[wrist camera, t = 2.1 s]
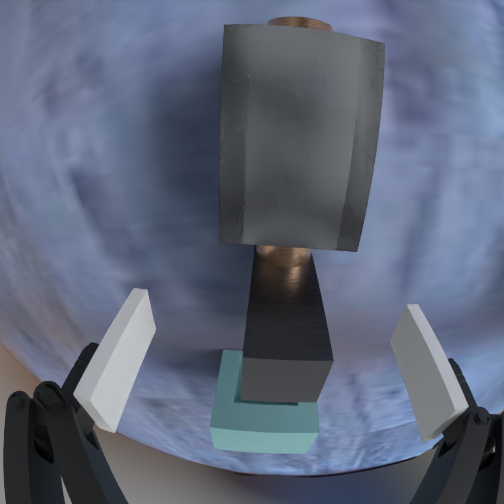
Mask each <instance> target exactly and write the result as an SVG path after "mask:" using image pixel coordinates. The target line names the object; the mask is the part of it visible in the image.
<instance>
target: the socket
mask: <svg viewBox="0 0 504 504" xmlns="http://www.w3.org/2000/svg"><path fill="white" fill-rule="evenodd" d="M242 355H243V351H238V350H227V349H223V354H222V360H221V365H220V371H219V377H218V382H217V388H216V394H215V399H214V405H213V411H212V416H211V422H210V432H211V436H212V441H213V445H214V449H222V450H231V451H242V452H257V453H307V451H308V450H309V448H310V447H311V445H312V444H313V442H314V440H315V439H316V437H317V436H318V434H319V421H318V409H317V402H267V401H251V400H241V387H242Z"/></svg>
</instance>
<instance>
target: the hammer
mask: <svg viewBox="0 0 504 504" xmlns="http://www.w3.org/2000/svg"><path fill="white" fill-rule="evenodd" d="M268 25H277V26H290V27H300V28H309V29H316V30H323V31H330V32H333V28H332V27H331V26H330V25H329V24H327V23H325V22H322V21H319V20H316V19H311V18H304V17H281V18H275V19H272V20H270V21H269V22H268ZM311 250H312V249H309V248H294V247H280V246H265V245H255V251H254V259H253V268H252V277H251V286H250V295H249V303H248V312H247V321H246V329H245V338H244V347H243V355H242V387H241V400H251V401H267V402H317V399H318V397H319V395H320V393H321V390H322V388H323V386H324V383H325V381H326V378H327V376H328V374H329V371H330V369H331V366H332V364H333V361H334V360H333V355H332V349H331V343H330V338H329V333H328V327H327V322H326V317H325V312H324V307H323V302H322V297H321V293H320V288H319V283H318V279H317V274H316V270H315V265H314V261H313V257H312V252H311Z"/></svg>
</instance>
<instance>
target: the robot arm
mask: <svg viewBox="0 0 504 504" xmlns="http://www.w3.org/2000/svg"><path fill="white" fill-rule="evenodd" d="M155 331H156V327H155V323H154V319H153V315H152V310H151V306H150V301H149V296H148V291H147V290H145V289H137V288H133V290H132V291H131V293H130V295H129V296H128V298H127V299H126V301H125V303H124V304H123V306H122V307H121V309H120V311H119V312H118V314H117V316H116V317H115V319H114V321H113V322H112V324H111V326H110V327H109V329H108V331H107V332H106V334H105V336H104V338H103V339H102V341H101V343H100V344H97V343H93V342H91V343H90V344H89V345H88V346H86V347H85V348H84V349H83V351H82V352H81V354H80V356H79V357H78V360H77V361H76V363H75V364H74V367H73V368H72V370H71V371H70V373H69V375H68V377H67V379H66V380H65V382H64V384H63V386H62V388H60V387H59V385H58V384H56V383H55V382H53V381H44V382H42V383H40V384H39V385H38V386H37V387H36V389H35V391H34V394H33V399H32V398H30V397H29V396H28V395H27V394H26V393H25V392H23V391H16V392H14V393H13V394H11V395H10V397H9V398H8V402H7V407H6V416H5V429H4V449H3V458H4V459H3V467H4V488H5V498H6V504H65V501H64V495H63V489H62V481H61V476H62V479H63V482H64V484H65V487H66V490H67V492H68V495H69V497H70V499H71V502H72V504H128V502H127V500H126V499H125V497H124V495H123V493H122V491H121V489H120V487H119V486H118V484H117V482H116V480H115V478H114V476H113V474H112V472H111V469H110V467H109V465H108V463H107V461H106V458H105V456H104V454H103V452H102V449H101V447H100V444H99V442H98V440H97V437H96V435H95V432H94V430H93V425H94V423H96V424H97V426H98V427H99V428H101V429H104V430H107V431H110V432H113V433H115V431H116V429H117V426H118V423H119V420H120V418H121V415H122V412H123V410H124V407H125V404H126V402H127V399H128V397H129V394H130V391H131V389H132V386H133V384H134V381H135V379H136V376H137V374H138V371H139V369H140V366H141V364H142V362H143V359H144V357H145V354H146V352H147V350H148V347H149V345H150V343H151V340H152V338H153V336H154V333H155ZM389 342H390V344H391V347H392V350H393V352H394V355H395V358H396V360H397V363H398V366H399V369H400V371H401V374H402V377H403V380H404V383H405V386H406V389H407V392H408V395H409V398H410V401H411V404H412V407H413V411H414V414H415V417H416V421H417V424H418V428H419V431H420V435H421V438H422V442H425V441H428V440H432V439H435V438H437V437H438V436H439V435H440V434H441V433H443V436H444V437H443V438H442V439H441V440H440V441H438V442H437V443H436V444H435V445H434V446H433V448H432V449H434V448H436V447H437V446H438V445H439V446H438V448H437V450H436V453H435V455H434V457H433V460H432V462H431V464H430V466H429V468H428V470H427V472H426V475H425V476H424V479H423V480H422V482H421V484H420V486H419V488H418V490H417V492H416V494H415V495H414V497H413V499H412V501H411V502H410V504H504V411H503V412H502V413H501V414H500V415H498V414H489V413H488V411H487V410H486V409H485V408H483V407H478V406H477V404H476V402H475V400H474V397H473V395H472V393H471V391H470V388H469V386H468V384H467V382H466V380H465V378H464V375H462V374H463V373H462V371H461V369H460V367H459V365H458V364H457V363H456V362H455V361H454V360H453V359H452V358H450V359H447V357H446V355H445V353H444V351H443V349H442V347H441V345H440V343H439V342H438V340H437V338H436V336H435V334H434V332H433V330H432V328H431V327H430V325H429V323H428V321H427V319H426V318H425V316H424V314H423V312H422V311H421V309H420V307H419V305H418V304H406V306H405V308H404V311H403V313H402V315H401V318H400V320H399V322H398V324H397V327H396V329H395V331H394V333H393V335H392V337H391V339H390V341H389ZM494 447H495V452H494V453H493V448H494Z"/></svg>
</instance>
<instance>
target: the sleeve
mask: <svg viewBox="0 0 504 504" xmlns="http://www.w3.org/2000/svg"><path fill="white" fill-rule="evenodd" d="M384 60H385V44H384V43H380V42H377V41H373V40H369V39H365V38H360V37H356V36H351V35H346V34H341V33H335V32H330V31H323V30H316V29H309V28H300V27H290V26H277V25H252V24H234V25H224V36H223V56H222V80H221V112H220V184H219V200H220V243H234V244H250V245H265V246H280V247H294V248H309V249H323V250H337V251H351V252H357V250H358V246H359V241H360V237H361V233H362V228H363V223H364V219H365V214H366V209H367V204H368V199H369V193H370V188H371V182H372V176H373V170H374V164H375V157H376V150H377V142H378V135H379V126H380V117H381V107H382V95H383V80H384Z"/></svg>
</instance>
